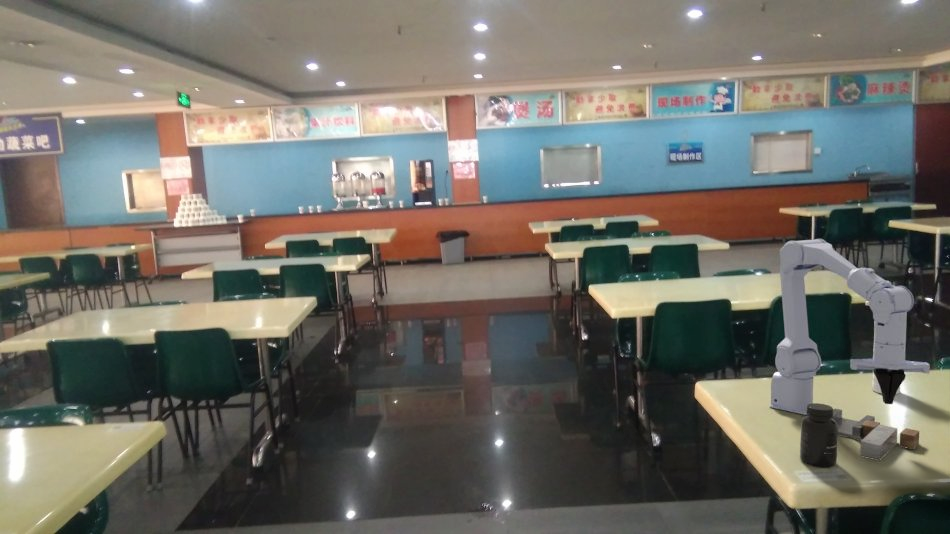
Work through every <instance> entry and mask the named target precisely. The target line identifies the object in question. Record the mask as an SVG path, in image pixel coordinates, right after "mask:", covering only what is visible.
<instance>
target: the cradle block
mask: <svg viewBox="0 0 950 534" xmlns="http://www.w3.org/2000/svg"><path fill="white" fill-rule="evenodd" d="M832 419H833V420H834V421H835V422H836V423H837V425H838V436H840V435H841V437H844V436H845V438H848V437H850V438H849V439H853V438H855V439H854V440H857V439H858V440H857V441H862V440H863V439H864V434H863V426H862V425H861V424H863V423H864V422H865V421H866V420H870V421H875V420H876V419H875V416H873V415H868V414H867V415H866V416H864V417H863V418H861V419H860V420H859V421H858V420H854V419H848V418H845V417H843V409H839V408H833V418H832ZM875 422H876V421H875Z"/></svg>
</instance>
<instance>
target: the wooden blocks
mask: <svg viewBox="0 0 950 534" xmlns="http://www.w3.org/2000/svg"><path fill="white" fill-rule="evenodd" d="M861 425H862V426H863V434H864V438H865V437H866V436H867V435H868V434H869V433H870V432H871V431H872V430H873V429H875V428H876V427H877V426H878V425H881V422H880V421H870V420H866V421H865V422H864V423H863V424H861ZM864 438H863V439H864ZM919 444H920V430H917V429H912V428H908V427H906V428H904V429H902V431H901V432H900V433H899V447H901V446H902V448H905V447H907V448H906V449H910V448H911V449H910V450H915V449H914V448H915V447H916V448H917V447H918V446H919Z"/></svg>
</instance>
